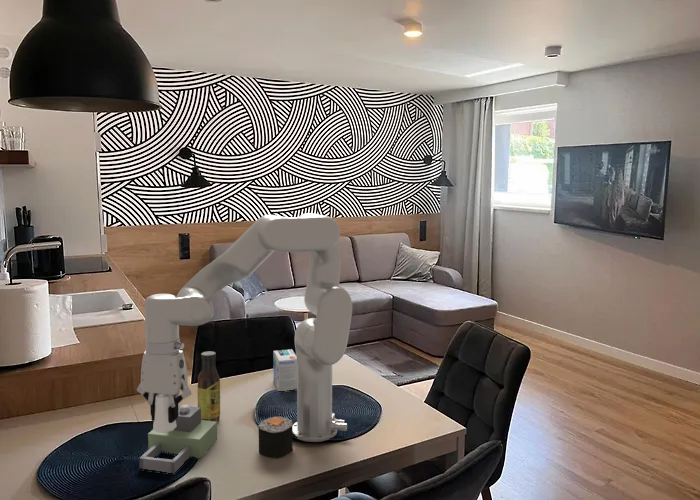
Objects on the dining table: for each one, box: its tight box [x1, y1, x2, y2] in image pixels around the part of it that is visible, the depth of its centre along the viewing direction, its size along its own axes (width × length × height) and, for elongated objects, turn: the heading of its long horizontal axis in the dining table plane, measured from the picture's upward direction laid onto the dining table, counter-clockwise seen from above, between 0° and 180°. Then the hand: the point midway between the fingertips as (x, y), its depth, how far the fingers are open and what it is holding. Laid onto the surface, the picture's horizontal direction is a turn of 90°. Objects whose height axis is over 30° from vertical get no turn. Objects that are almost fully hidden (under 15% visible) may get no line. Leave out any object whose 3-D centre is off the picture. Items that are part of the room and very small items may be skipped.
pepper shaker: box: [152, 394, 177, 433], centre depth 132 cm, size 5×5×11 cm
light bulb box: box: [272, 348, 297, 392], centre depth 183 cm, size 11×7×11 cm, turn 17°
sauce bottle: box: [197, 350, 221, 423], centre depth 156 cm, size 7×6×20 cm
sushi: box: [257, 415, 294, 459], centre depth 140 cm, size 8×8×8 cm
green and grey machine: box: [138, 404, 218, 475], centre depth 138 cm, size 14×18×10 cm
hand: (164, 418), depth 133 cm, fingers closed on pepper shaker, 3 cm apart
